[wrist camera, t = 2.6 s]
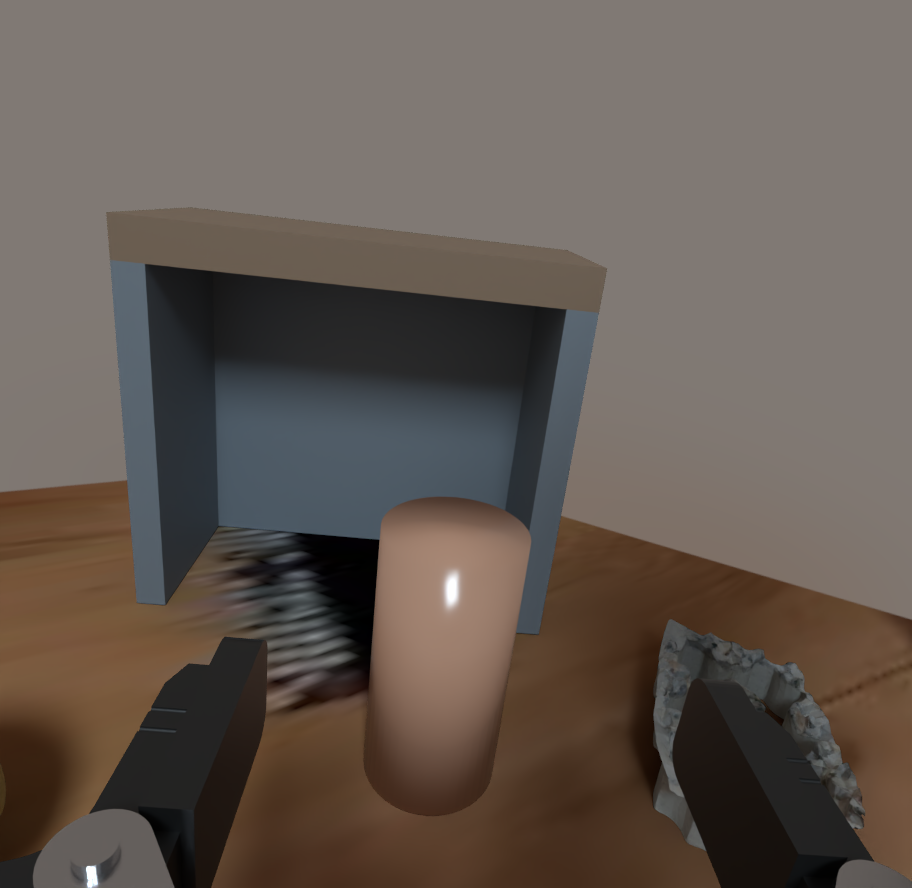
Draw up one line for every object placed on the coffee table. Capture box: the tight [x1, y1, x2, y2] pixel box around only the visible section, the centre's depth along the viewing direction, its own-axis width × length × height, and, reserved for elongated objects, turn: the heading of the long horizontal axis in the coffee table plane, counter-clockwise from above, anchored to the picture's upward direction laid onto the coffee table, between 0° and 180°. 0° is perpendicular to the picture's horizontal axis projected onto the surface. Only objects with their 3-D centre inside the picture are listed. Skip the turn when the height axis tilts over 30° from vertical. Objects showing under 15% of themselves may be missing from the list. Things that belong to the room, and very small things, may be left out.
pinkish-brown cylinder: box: [363, 497, 531, 816], centre depth 26 cm, size 6×6×11 cm
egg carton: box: [653, 619, 865, 851], centre depth 29 cm, size 11×8×4 cm
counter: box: [106, 208, 607, 635], centre depth 37 cm, size 22×10×20 cm, turn 91°
